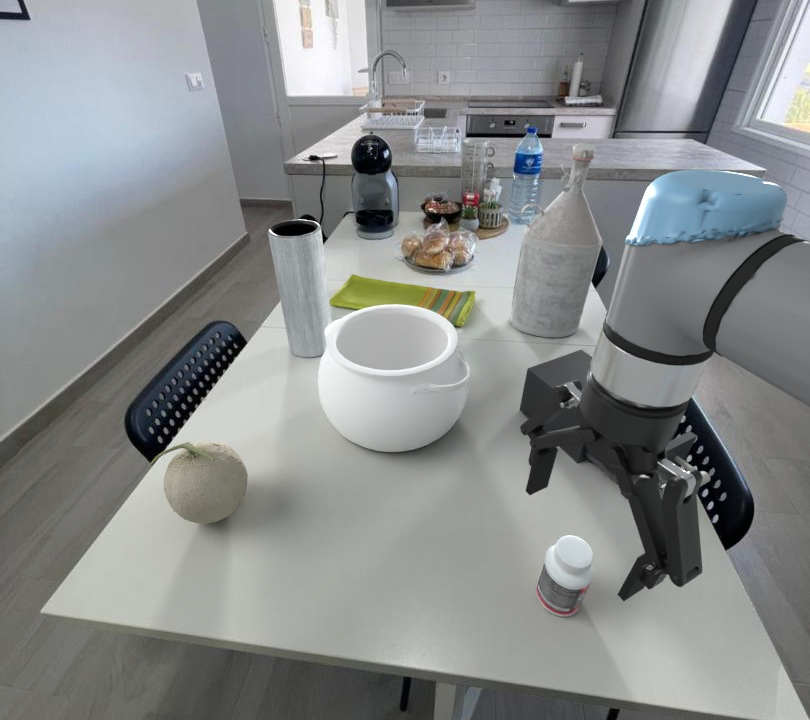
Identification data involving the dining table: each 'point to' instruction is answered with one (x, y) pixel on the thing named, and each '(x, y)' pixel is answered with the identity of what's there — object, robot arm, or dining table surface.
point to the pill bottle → (565, 576)
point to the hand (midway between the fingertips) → (578, 535)
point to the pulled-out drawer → (675, 454)
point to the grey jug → (557, 258)
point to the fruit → (204, 481)
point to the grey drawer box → (542, 387)
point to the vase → (302, 284)
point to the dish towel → (404, 297)
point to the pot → (392, 377)
